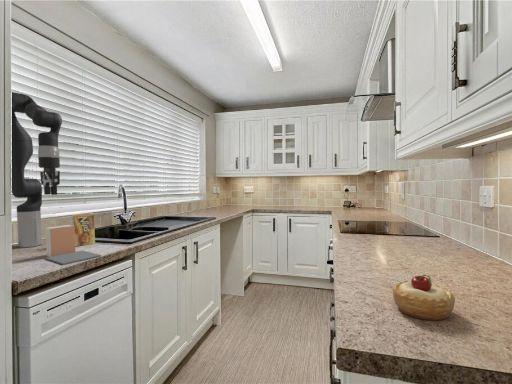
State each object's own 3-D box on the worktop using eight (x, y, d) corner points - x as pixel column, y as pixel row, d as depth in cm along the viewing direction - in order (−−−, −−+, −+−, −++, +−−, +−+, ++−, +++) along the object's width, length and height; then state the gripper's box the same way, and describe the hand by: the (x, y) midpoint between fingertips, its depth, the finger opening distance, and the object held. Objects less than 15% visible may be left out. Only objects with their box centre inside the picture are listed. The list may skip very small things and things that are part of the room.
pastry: (425, 300, 70) (426, 264, 70) (468, 322, 59) (469, 279, 58) (381, 302, 68) (382, 266, 68) (417, 326, 57) (417, 282, 57)
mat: (45, 259, 113) (45, 257, 113) (82, 251, 125) (82, 250, 125) (63, 265, 104) (63, 263, 104) (101, 256, 116) (101, 254, 116)
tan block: (46, 256, 118) (45, 227, 118) (70, 251, 126) (69, 224, 125) (51, 257, 116) (50, 228, 115) (75, 252, 123) (74, 225, 123)
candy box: (93, 242, 144) (92, 212, 144) (95, 243, 141) (94, 213, 141) (73, 245, 139) (72, 214, 138) (74, 246, 135) (73, 215, 135)
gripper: (32, 157, 124) (34, 195, 125) (45, 155, 117) (47, 195, 117) (51, 158, 131) (53, 194, 131) (66, 156, 123) (67, 194, 123)
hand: (50, 194), depth 124 cm, fingers open, 6 cm apart
